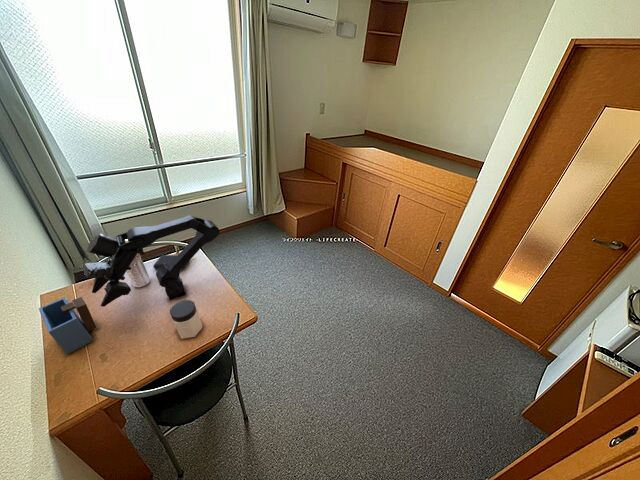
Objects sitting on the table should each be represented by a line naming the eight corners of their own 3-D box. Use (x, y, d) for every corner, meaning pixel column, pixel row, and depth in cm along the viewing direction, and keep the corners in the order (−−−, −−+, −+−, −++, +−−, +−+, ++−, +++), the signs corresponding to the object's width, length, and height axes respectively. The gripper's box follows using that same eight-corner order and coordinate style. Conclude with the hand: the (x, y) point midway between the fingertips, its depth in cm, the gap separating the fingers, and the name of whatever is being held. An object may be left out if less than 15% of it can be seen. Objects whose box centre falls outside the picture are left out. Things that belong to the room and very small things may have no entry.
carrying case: (151, 272, 121) (183, 273, 122) (149, 267, 119) (181, 268, 120) (162, 258, 129) (191, 259, 130) (160, 253, 128) (190, 254, 129)
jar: (174, 340, 93) (165, 319, 86) (179, 322, 99) (171, 301, 92) (201, 336, 94) (194, 315, 88) (204, 318, 101) (197, 298, 94)
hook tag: (92, 320, 96) (81, 296, 90) (96, 327, 94) (86, 304, 88) (72, 328, 92) (59, 304, 86) (76, 336, 90) (63, 312, 84)
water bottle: (146, 275, 119) (126, 230, 105) (153, 282, 116) (134, 236, 102) (130, 283, 114) (107, 237, 100) (137, 290, 111) (115, 244, 97)
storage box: (81, 319, 97) (65, 296, 90) (93, 340, 90) (76, 318, 84) (57, 330, 93) (38, 308, 86) (67, 354, 86) (48, 332, 79)
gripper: (86, 243, 88) (61, 283, 86) (105, 267, 78) (77, 312, 77) (121, 251, 97) (98, 287, 96) (141, 274, 88) (117, 314, 87)
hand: (97, 299), depth 89 cm, fingers open, 9 cm apart
